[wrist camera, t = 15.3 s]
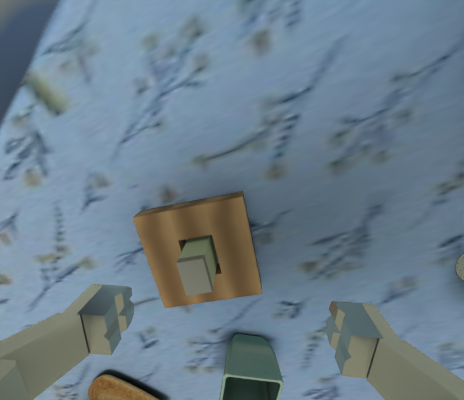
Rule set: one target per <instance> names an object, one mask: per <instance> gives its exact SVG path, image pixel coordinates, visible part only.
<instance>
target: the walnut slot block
mask: <svg viewBox="0 0 464 400" xmlns="http://www.w3.org/2000/svg"><path fill="white" fill-rule="evenodd" d="M133 220H134V223H135V226H136V229H137V231H138V234H139V237H140V240H141V243H142V245H143V248H144V251H145V254H146V257H147V260H148V262H149V265H150V268H151V271H152V274H153V276H154V279H155V282H156V285H157V288H158V290H159V293H160V296H161V299H162V302H163V305H164V307H165V308H169V307H175V306H182V305H189V304H196V303H203V302H209V301H216V300H223V299H230V298H237V297H243V296H250V295H257V294H262V287H261V280H260V275H259V270H258V265H257V260H256V255H255V251H254V246H253V241H252V236H251V231H250V226H249V221H248V216H247V211H246V206H245V201H244V196H243V191H242V192H236V193H231V194H226V195H221V196H215V197H210V198H205V199H200V200H195V201H189V202H184V203H179V204H174V205H168V206H163V207H158V208H153V209H148V210H142V211H140V212H139V213H138V214H137V215H135V216H134V217H133ZM207 235H212V237H213V241H214V245H215V249H216V253H217V257H218V261H219V263H217V267H216V273H215V278H214V284H213V290H212V292H208V293H201V294H195V295H188V296H186V293H185V290H184V287H183V283H182V280H181V277H180V274H179V271H178V267H177V264H176V262H177V260H178V258H179V256H180V254H181V252H182V250H183V248H184V246H185V244H186V240H185V239H190V238H196V237H201V236H207Z"/></svg>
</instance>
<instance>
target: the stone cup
mask: <svg viewBox="0 0 464 400" xmlns="http://www.w3.org/2000/svg"><path fill="white" fill-rule="evenodd" d="M88 396H89V399H90V400H159V399H158V398H156V397H154V396H152V395H151V394H149V393H147V392H145V391H143V390H142V389H140V388H138V387H136V386H134V385H132V384H130V383H128V382H126V381H124V380H121V379H119V378H117V377H114V376H112V375H108V374H104V375H101V376H99V377H98V378H96V379H95V380H94V381H93V383H92V384H91V386H90V388H89V391H88Z"/></svg>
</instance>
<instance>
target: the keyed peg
mask: <svg viewBox="0 0 464 400" xmlns="http://www.w3.org/2000/svg"><path fill="white" fill-rule="evenodd" d="M217 262H218V257H217V253H216V249H215V245H214V241H213V237H212V235H207V236H201V237H196V238H190V239H188V240H187V242H186V244H185V246H184V248H183V250H182V252H181V254H180V256H179V258H178V260H177V262H176V264H177V267H178V271H179V274H180V277H181V280H182V283H183V287H184V290H185V293H186V296H188V295H195V294H201V293H208V292H212V290H213V284H214V278H215V273H216V267H217Z"/></svg>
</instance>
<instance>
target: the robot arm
mask: <svg viewBox="0 0 464 400" xmlns="http://www.w3.org/2000/svg"><path fill="white" fill-rule="evenodd" d="M131 296H132V291H131V288H130V287H126V286H115V285H103V284H93V285H90V286H89V287H88V288H87V289H86V290H85V291H84V292H83V293H82V294H81V295H80V296H79V297H78V298H77V299H76V300H75V301H74V302H73V303H72V304H71V305H70V306H69V307H68V308H67V309H66V310H65V311H64V312H63V313H57V314H55V315H53V316H51V317H49V318H47V319H45V320H43V321H41V322H39V323H37V324H35V325H33V326H31V327H29V328H27V329H24V330H22V331H20V332H18V333H16V334H14V335H12V336H10V337H8V338H6V339H4V340H2V341H0V400H33V399H34V398H36V397H37V396H38V395H39V394H41V393H42V392H43V391H44V390H46V389H47V388H48V387H49V386H51V385H52V384H53V383H54V382H56V381H57V380H58V379H59V378H61V377H62V376H63V375H64V374H66V373H67V372H68V371H69V370H71V369H72V368H73V367H75V366H76V365H77V364H78V363H80V362H81V361H82V360H83V359H85V358H86V357H87V356H88V355H89V354H104V355H112V353H113V352H114V350H115V348H116V347H117V345H118V343H119V342H120V340H121V334H120V333H122V332H123V331H125V330H126V329H127V328H128V327H129V325H130V323H131V321H132V318H133V314H134V305H133V303H132V302H131V301H130V297H131ZM329 310H330V312H331V316H330V317H328V318H327V324H326V329H327V336H328V340H329V343H330V346H331V347H333V348H334V349H335V350H336V353H335V359H336V362H337V364H338V367H339V370H340V372H341V375H342V376H349V377H358V378H366V379H367V380H368V382H369V383H370V384H371V385H372V386H373V387H374V388H375V389H376V390H377V391H378V392H379V394H380V395H381V396H382V397H383V398H384V399H385V400H464V381H463V380H462V379H460V378H459V377H457V376H456V375H454V374H453V373H451V372H450V371H448V370H447V369H446V368H444V367H443V366H441V365H440V364H438V363H437V362H435V361H434V360H432V359H431V358H430V357H428V356H427V355H425V354H424V353H422V352H421V351H419V350H418V349H416V348H415V347H413V346H412V345H411V344H409V343H408V342H406V341H404V340H400V339H399V338H398V336H397V335H396V334H395V332H394V331H393V329H392V328H391V327H390V325H389V324H388V322H387V321H386V320H385V318H384V317H383V316H382V314H381V313H380V311H379V310H378V309H377V307H376V306H375V305H374V304H372V303H352V302H336V301H332V302H331V304H330V308H329Z"/></svg>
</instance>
